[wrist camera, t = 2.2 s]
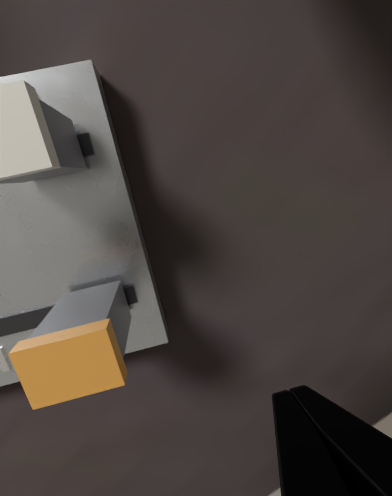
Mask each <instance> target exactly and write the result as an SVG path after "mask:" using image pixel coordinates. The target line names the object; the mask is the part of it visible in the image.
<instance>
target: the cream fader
mask: <svg viewBox="0 0 392 496" xmlns="http://www.w3.org/2000/svg"><path fill="white" fill-rule="evenodd" d="M83 169H87V168H86V165H85V161H84V158H83V155H82V151H81V148H80V145H79V141H78V138H77V135H76V131H75V128H74V125H73V122H72V120H71V119H70V118H68V117H67V116H65V115H63V114H62V113H60V112H59V111H57V110H56V109H54V108H52V107H51V106H49V105H48V104H46V103H45V102H43V101H41V100H40V99H38V96H37V93H36V90H35V88H34V87H33V86H31V85H30V84H29V83H27V82H26V81H24V80H21V81H15V82H10V83H5V84H0V184H7V183H24V182H28V181H33V180H38V179H42V178H47V177H51V176H56V175H60V174H65V173H70V172H74V171H79V170H83Z"/></svg>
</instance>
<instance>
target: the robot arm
mask: <svg viewBox="0 0 392 496" xmlns="http://www.w3.org/2000/svg"><path fill="white" fill-rule="evenodd" d="M272 403H273V414H274V424H275V435H276V446H277V456H278V467H279V477H280V488H281V496H392V438H390V437H388V436H387V435H385V434H383V433H382V432H380V431H379V430H377V429H376V428H374V427H372V426H371V425H369V424H367V423H366V422H364V421H363V420H361V419H359V418H358V417H356V416H355V415H353V414H351V413H350V412H348V411H346V410H345V409H343V408H342V407H340V406H338V405H337V404H335V403H333V402H332V401H330V400H329V399H327V398H325V397H324V396H322V395H321V394H319V393H317V392H316V391H314V390H312V389H311V388H309V387H308V386H305V385H302V386H298V387H294V388H291V389H290V390H289V391H287V390H284V391H280V392H277V393H273V394H272Z"/></svg>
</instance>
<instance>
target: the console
mask: <svg viewBox="0 0 392 496" xmlns="http://www.w3.org/2000/svg"><path fill="white" fill-rule="evenodd" d="M21 80H24V81H26V82H27V83H29V84H30V85H31V86H33V87H34V88H35V90H36V93H37V96H38V99H40V100H41V101H43V102H45V103H46V104H48V105H49V106H51V107H52V108H54V109H56V110H57V111H59V112H60V113H62V114H63V115H65V116H67V117H68V118H70V119H71V120H72V122H73V125H74V128H75V131H76V135H77V138H78V141H79V145H80V148H81V151H82V155H83V158H84V161H85V165H86V168H87V169H83V170H79V171H74V172H70V173H65V174H60V175H56V176H51V177H47V178H42V179H38V180H33V181H28V182H24V183H7V184H0V386H4V385H8V384H12V383H16V382H19V381H20V380H19V378H18V375H17V373H16V371H15V369H14V366H13V364H12V362H11V360H10V357H9V355H8V353H9V352H10V351H11V350H12V349H13V347H14V346H15V345H16V344H17V343H18V341H22V340H25V339H28V338H29V337H30V335H31V334H32V333H33V332H34V330H35V329H36V328H37V327H38V325H39V324H40V323H41V322H42V320H43V319H44V318H45V317H46V315H47V314H48V313H49V312H50V310H51V309H52V308H53V307H54V305H55V304H56V303H57V302H58V300H59V299H60V298H61V297H62V295H63V294H65V293H70V292H74V291H78V290H82V289H86V288H90V287H94V286H98V285H102V284H106V283H110V282H115V281H119V280H121V283H122V287H123V290H124V293H125V297H126V300H127V303H128V307H129V310H130V313H131V316H132V317H131V323H130V328H129V333H128V338H127V344H126V349H125V354H126V353H130V352H134V351H138V350H142V349H145V348H149V347H153V346H157V345H161V344H165V343H168V328H167V322H166V319H165V315H164V311H163V308H162V304H161V300H160V297H159V293H158V289H157V285H156V282H155V278H154V274H153V271H152V267H151V263H150V259H149V256H148V252H147V248H146V245H145V241H144V237H143V233H142V230H141V226H140V222H139V219H138V215H137V211H136V207H135V204H134V200H133V196H132V193H131V189H130V185H129V181H128V178H127V174H126V170H125V167H124V163H123V159H122V155H121V152H120V148H119V144H118V141H117V137H116V133H115V129H114V126H113V122H112V118H111V115H110V111H109V107H108V103H107V100H106V96H105V92H104V89H103V85H102V81H101V77H100V74H99V72H98V71H97V69H96V67H95V65H94V64H93V62H92V60H87V61H82V62H76V63H71V64H66V65H61V66H56V67H51V68H46V69H40V70H35V71H30V72H25V73H20V74H15V75H9V76H4V77H0V84H5V83H10V82H15V81H21Z"/></svg>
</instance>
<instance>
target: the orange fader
mask: <svg viewBox="0 0 392 496" xmlns="http://www.w3.org/2000/svg"><path fill="white" fill-rule="evenodd" d="M131 317H132V316H131V313H130V310H129V307H128V303H127V300H126V297H125V293H124V290H123V287H122V283H121V280H119V281H115V282H110V283H106V284H102V285H98V286H94V287H90V288H86V289H82V290H78V291H74V292H70V293H65V294H63V295H62V297H61V298H60V299H59V300H58V302H57V303H56V304H55V305H54V307H53V308H52V309H51V310H50V312H49V313H48V314H47V315H46V317H45V318H44V319H43V320H42V322H41V323H40V324H39V325H38V327H37V328H36V329H35V330H34V332H33V333H32V334H31V335H30V337H29V338H28V339H25V340H22V341H18V343H17V344H16V345H15V346H14V347H13V349H12V350H11V351H10V352H9V353H8V355H9V357H10V360H11V362H12V364H13V366H14V369H15V371H16V373H17V375H18V378H19V380H20V382H21V384H22V387H23V389H24V391H25V393H26V396H27V398H28V400H29V402H30V405H31V407H32V409H33V410H34V409H38V408H42V407H45V406H49V405H53V404H56V403H60V402H64V401H68V400H71V399H75V398H79V397H83V396H86V395H90V394H94V393H97V392H101V391H105V390H109V389H112V388H116V387H120V386H123V385H125V381H126V375H127V370H126V367H125V363H124V360H123V359H124V354H125V349H126V344H127V338H128V333H129V328H130V323H131Z"/></svg>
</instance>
